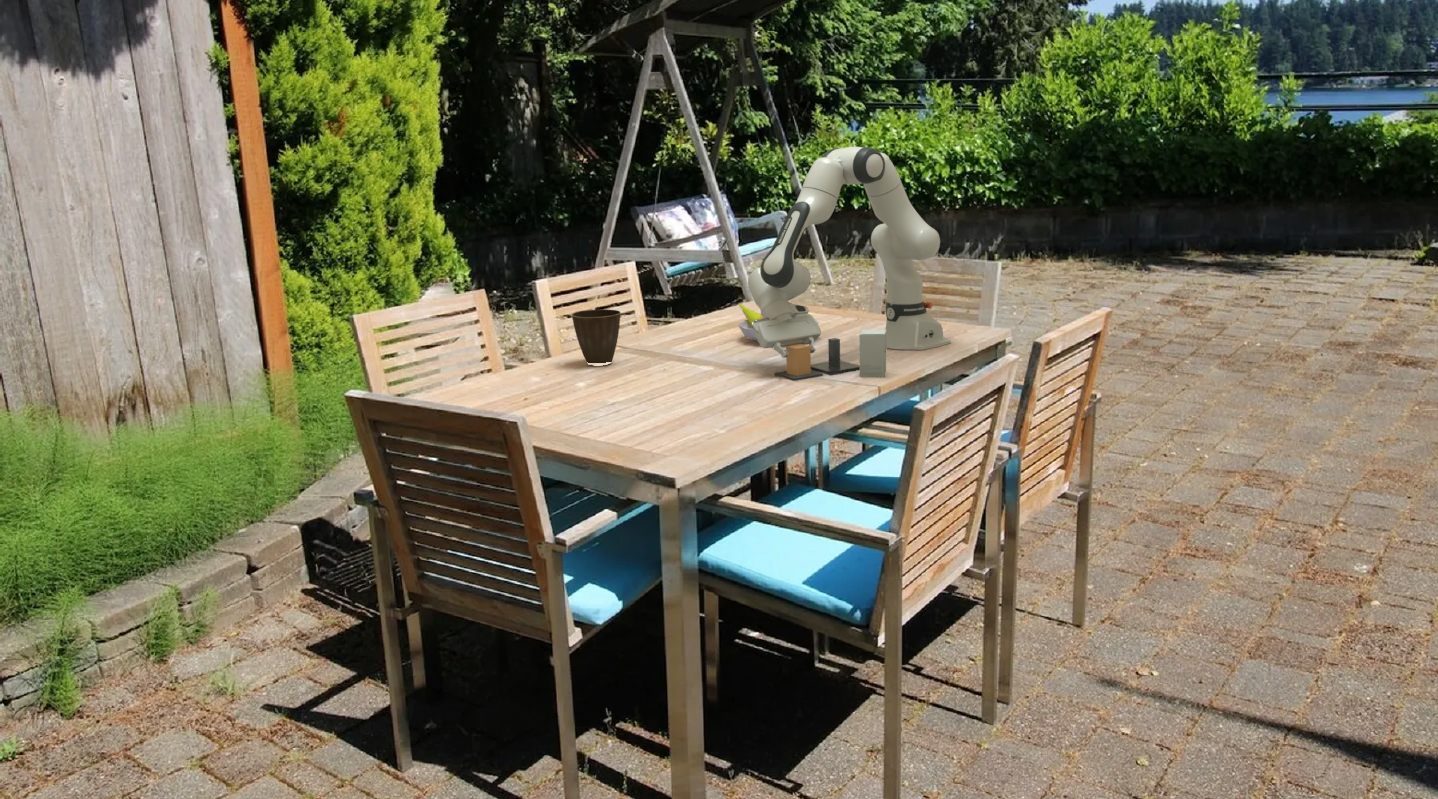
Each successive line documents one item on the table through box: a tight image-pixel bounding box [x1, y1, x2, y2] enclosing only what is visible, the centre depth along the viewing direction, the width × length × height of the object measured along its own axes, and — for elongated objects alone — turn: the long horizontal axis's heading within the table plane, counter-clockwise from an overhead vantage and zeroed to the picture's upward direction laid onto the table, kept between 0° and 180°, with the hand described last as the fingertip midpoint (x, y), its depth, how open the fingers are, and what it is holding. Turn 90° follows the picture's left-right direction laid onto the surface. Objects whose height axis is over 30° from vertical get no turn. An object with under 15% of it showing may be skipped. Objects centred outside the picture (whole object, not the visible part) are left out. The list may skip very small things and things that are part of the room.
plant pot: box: [571, 309, 621, 363], centre depth 372 cm, size 15×15×16 cm
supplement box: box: [859, 329, 887, 378], centre depth 346 cm, size 7×7×13 cm
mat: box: [774, 370, 824, 382], centre depth 349 cm, size 10×10×1 cm
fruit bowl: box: [737, 303, 820, 342], centre depth 402 cm, size 28×27×11 cm
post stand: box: [811, 337, 860, 376], centre depth 355 cm, size 12×12×9 cm
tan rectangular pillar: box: [785, 343, 812, 376], centre depth 348 cm, size 5×5×8 cm
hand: (799, 354), depth 347 cm, fingers open, 8 cm apart
